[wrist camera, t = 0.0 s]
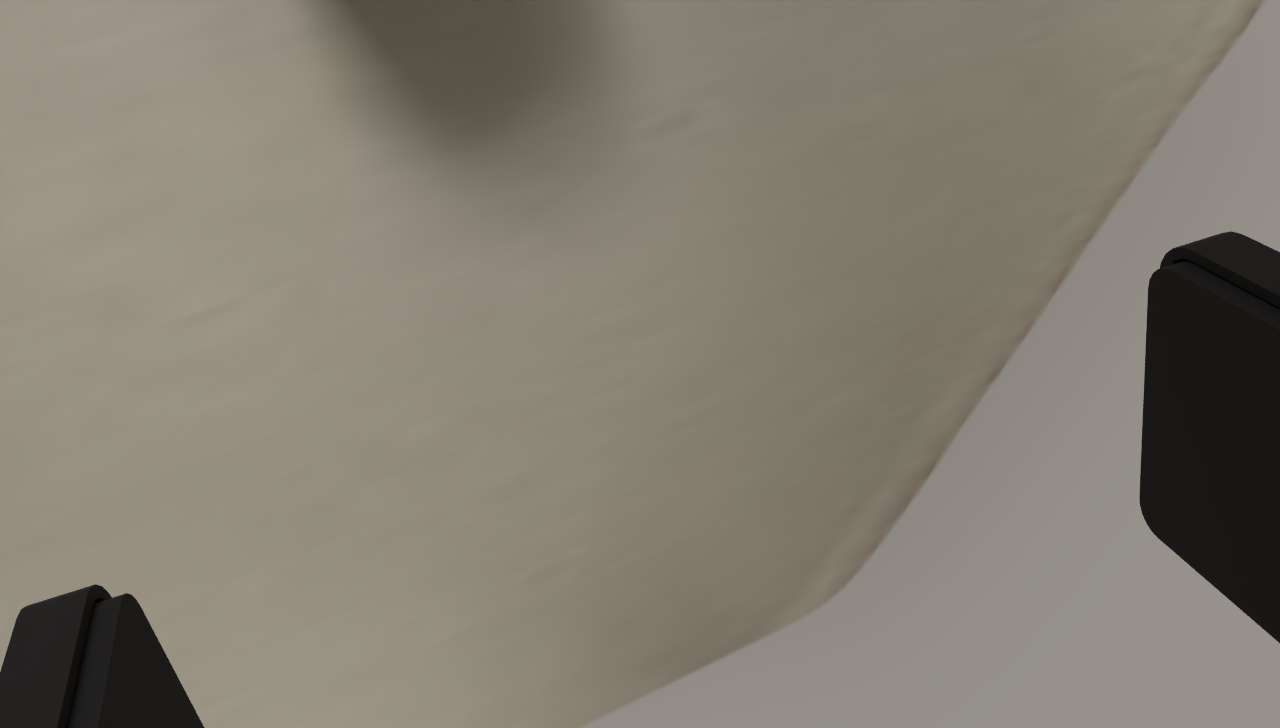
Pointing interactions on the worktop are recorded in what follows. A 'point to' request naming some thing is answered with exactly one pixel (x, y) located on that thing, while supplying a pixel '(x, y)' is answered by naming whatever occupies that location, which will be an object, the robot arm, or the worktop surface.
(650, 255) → the worktop surface
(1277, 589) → the robot arm
